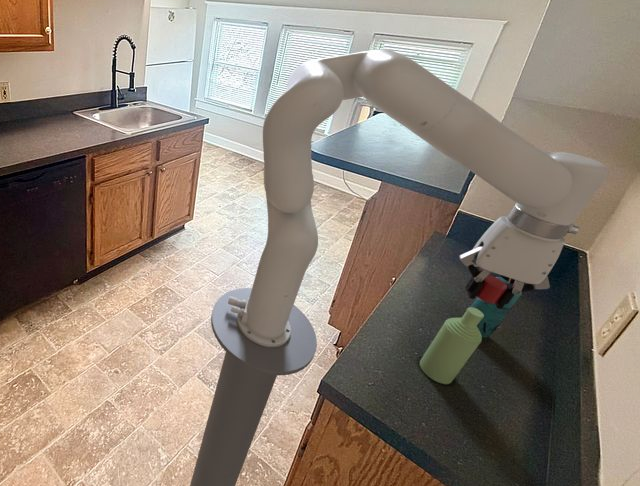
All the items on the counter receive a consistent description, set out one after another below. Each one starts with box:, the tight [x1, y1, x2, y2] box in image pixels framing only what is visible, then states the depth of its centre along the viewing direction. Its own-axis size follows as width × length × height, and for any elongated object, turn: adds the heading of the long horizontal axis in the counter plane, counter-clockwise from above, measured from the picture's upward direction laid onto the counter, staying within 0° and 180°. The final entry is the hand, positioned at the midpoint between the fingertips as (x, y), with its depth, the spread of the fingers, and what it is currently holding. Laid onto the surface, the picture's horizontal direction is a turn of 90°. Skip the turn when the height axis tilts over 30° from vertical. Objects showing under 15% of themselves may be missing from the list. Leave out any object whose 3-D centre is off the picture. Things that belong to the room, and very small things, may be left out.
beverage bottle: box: [469, 275, 523, 338], centre depth 92 cm, size 6×7×20 cm
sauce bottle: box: [419, 306, 484, 385], centre depth 81 cm, size 6×6×18 cm
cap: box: [476, 274, 508, 303], centre depth 73 cm, size 4×4×4 cm
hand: (483, 298), depth 75 cm, fingers closed on cap, 3 cm apart
